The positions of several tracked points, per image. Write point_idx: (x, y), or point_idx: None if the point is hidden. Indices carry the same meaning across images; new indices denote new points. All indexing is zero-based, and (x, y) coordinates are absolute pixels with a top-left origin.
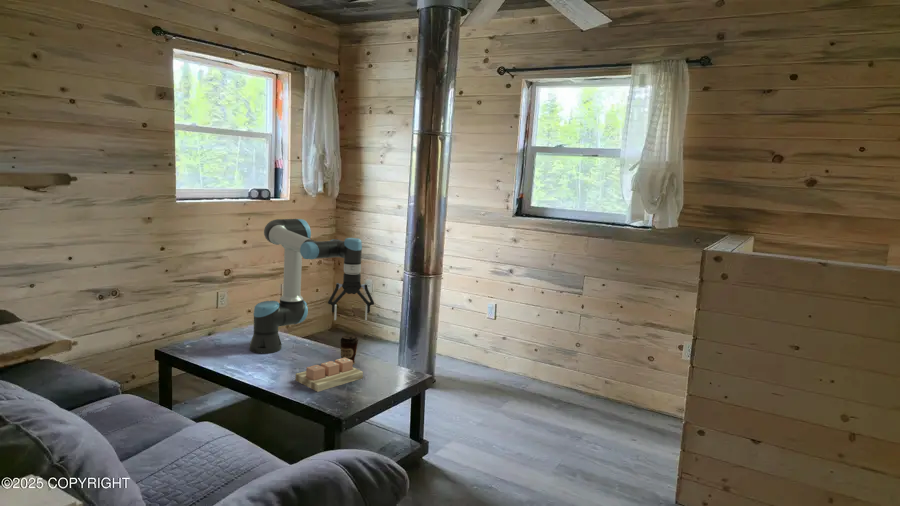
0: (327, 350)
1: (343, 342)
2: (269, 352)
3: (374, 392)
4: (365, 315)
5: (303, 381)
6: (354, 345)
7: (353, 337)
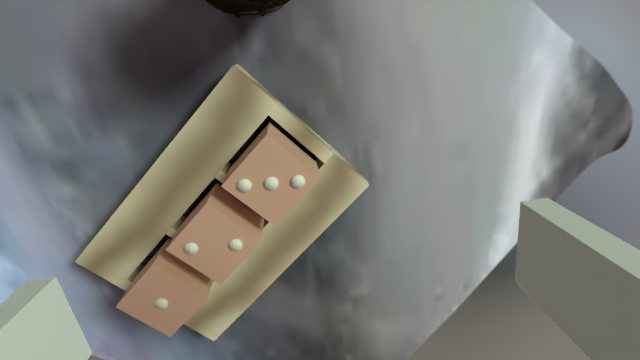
0: None
1: (214, 6)
2: None
3: (413, 290)
4: (574, 340)
5: None
6: None
7: None
